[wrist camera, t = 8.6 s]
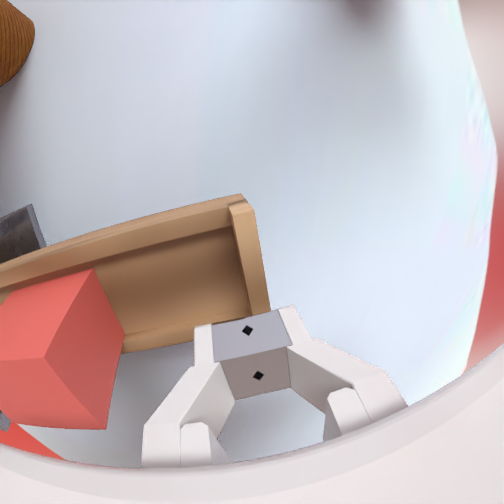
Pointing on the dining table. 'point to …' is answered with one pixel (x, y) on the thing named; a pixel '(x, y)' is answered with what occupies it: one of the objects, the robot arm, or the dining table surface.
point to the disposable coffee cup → (13, 40)
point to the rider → (59, 353)
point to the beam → (162, 270)
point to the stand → (18, 249)
